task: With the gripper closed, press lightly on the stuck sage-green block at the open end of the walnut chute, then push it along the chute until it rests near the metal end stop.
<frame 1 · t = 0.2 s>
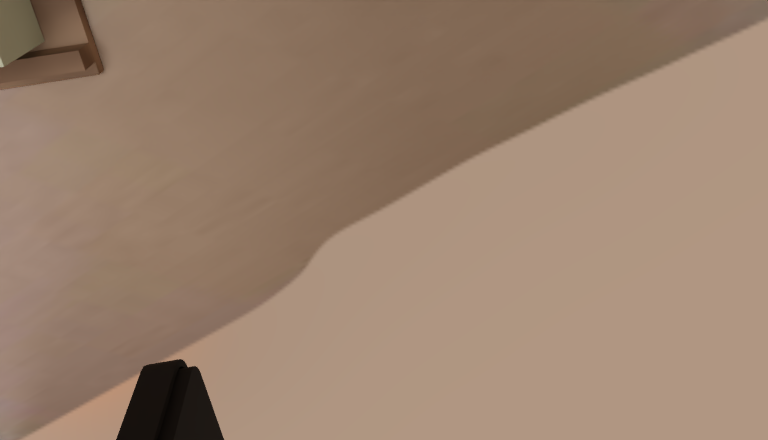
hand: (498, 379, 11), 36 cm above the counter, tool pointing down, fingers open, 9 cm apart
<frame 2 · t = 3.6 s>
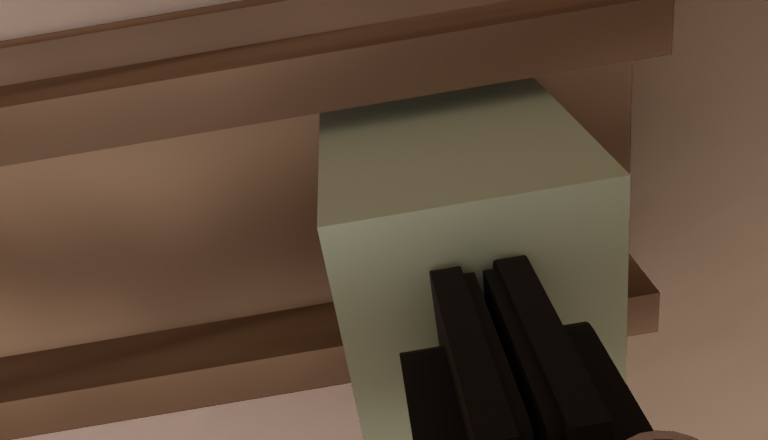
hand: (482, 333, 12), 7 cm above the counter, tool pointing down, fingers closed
jammed block: (456, 244, 15), point 4 cm above the counter, slide at 0.0 cm, touching gripper
chute: (97, 224, 18), on the counter
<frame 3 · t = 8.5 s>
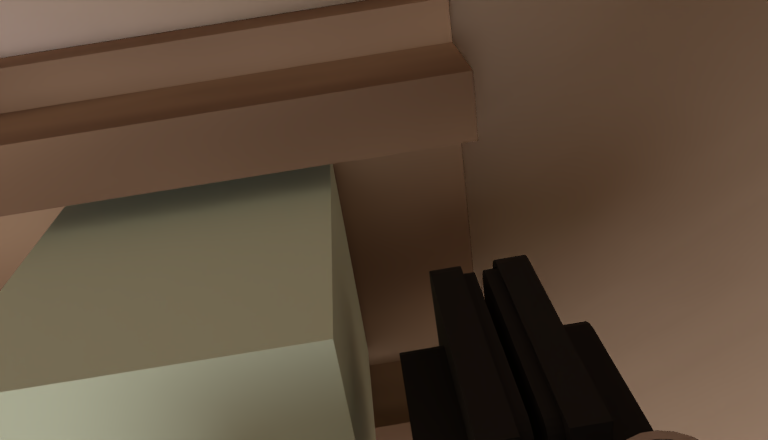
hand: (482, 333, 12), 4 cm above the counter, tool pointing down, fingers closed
jammed block: (213, 369, 12), point 4 cm above the counter, slide at 0.1 cm, touching gripper
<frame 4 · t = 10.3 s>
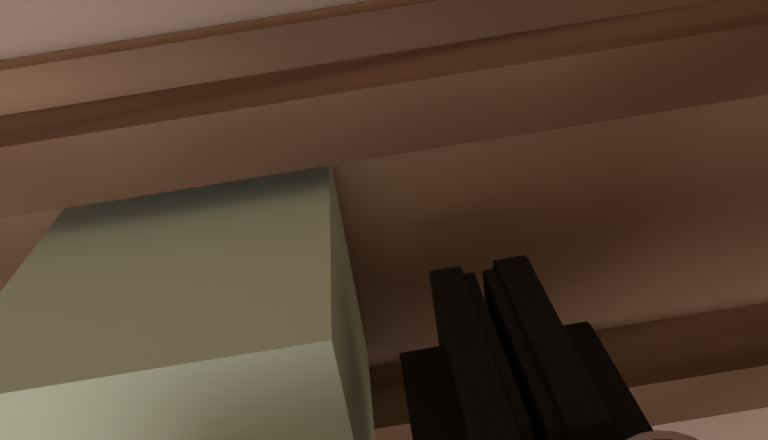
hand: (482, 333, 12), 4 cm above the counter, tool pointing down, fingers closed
jammed block: (213, 371, 12), point 4 cm above the counter, slide at 10.5 cm, touching gripper
chute: (304, 242, 15), on the counter
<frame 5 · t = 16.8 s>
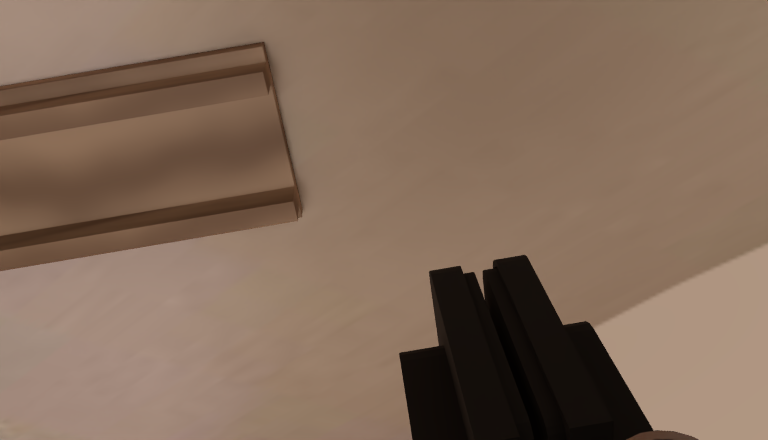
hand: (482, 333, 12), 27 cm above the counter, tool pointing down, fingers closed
chute: (37, 172, 38), on the counter
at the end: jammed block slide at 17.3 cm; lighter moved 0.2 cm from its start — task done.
